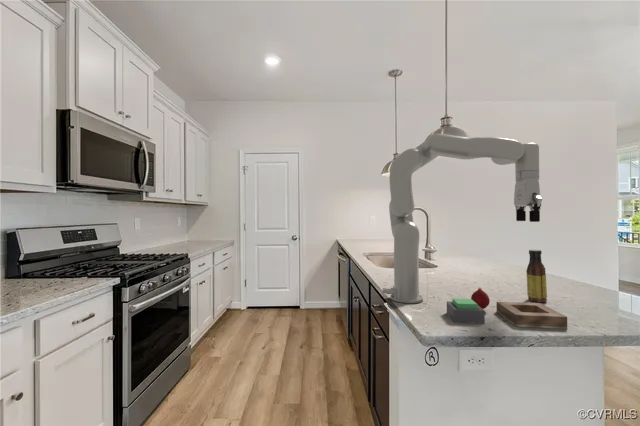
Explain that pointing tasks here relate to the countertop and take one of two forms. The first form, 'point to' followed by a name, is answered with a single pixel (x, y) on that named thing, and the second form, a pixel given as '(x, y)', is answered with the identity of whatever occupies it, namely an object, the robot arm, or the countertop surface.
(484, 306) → the onion
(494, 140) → the robot arm
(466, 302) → the button
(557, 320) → the open box
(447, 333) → the countertop surface
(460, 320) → the button housing
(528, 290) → the sauce bottle
